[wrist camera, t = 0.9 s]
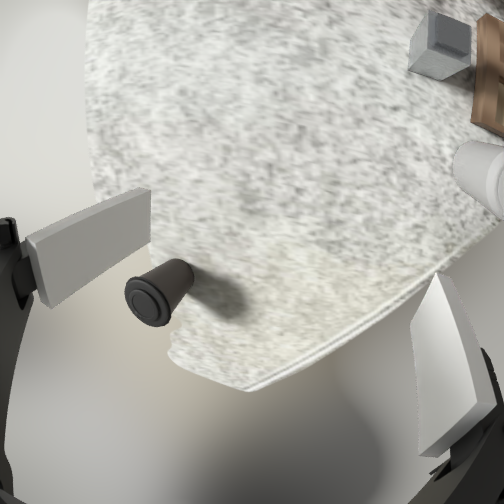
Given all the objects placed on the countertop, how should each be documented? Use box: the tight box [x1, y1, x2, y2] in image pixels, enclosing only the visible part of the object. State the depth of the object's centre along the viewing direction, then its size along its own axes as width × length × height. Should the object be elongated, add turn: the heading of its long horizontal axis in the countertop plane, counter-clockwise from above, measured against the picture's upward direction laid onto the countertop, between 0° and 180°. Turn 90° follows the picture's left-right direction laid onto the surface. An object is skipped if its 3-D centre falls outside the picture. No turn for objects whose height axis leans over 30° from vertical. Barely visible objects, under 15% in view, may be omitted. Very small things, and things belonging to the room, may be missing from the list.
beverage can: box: [453, 141, 504, 221], centre depth 20 cm, size 6×6×12 cm
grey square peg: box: [408, 10, 471, 81], centre depth 18 cm, size 4×4×11 cm
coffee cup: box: [125, 259, 194, 327], centre depth 42 cm, size 8×8×10 cm
